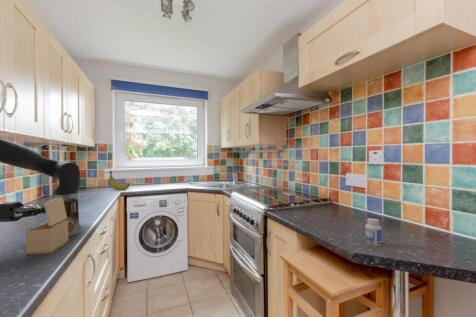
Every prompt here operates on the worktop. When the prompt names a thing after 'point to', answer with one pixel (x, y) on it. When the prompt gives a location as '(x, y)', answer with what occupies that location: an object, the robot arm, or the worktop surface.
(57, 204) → the carton flap
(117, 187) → the banana
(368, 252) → the worktop surface
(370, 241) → the pill bottle
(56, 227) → the carton
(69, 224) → the coffee box
